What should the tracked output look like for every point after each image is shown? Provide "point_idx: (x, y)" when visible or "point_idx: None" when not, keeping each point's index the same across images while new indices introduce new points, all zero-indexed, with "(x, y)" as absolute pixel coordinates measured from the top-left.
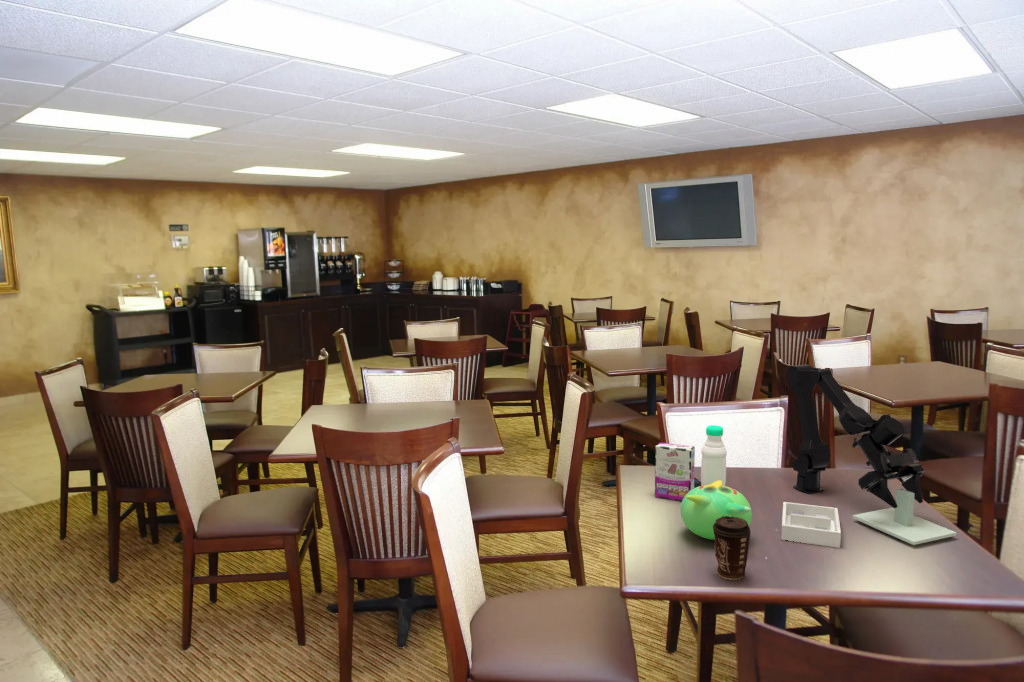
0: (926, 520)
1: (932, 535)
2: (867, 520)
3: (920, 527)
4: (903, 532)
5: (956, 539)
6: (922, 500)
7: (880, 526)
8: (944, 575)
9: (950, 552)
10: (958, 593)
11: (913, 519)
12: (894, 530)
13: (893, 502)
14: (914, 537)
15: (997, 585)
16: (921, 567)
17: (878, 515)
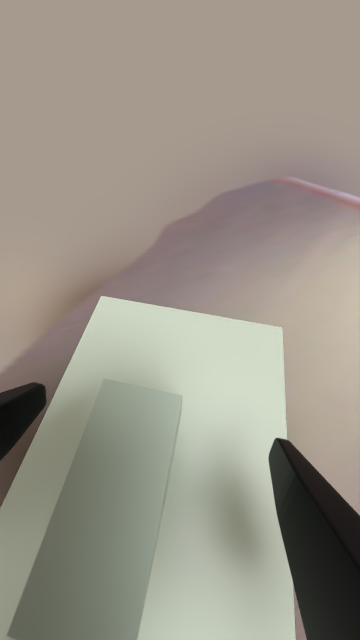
0: (51, 401)
1: (183, 321)
2: (279, 618)
3: (144, 377)
4: (245, 388)
5: None
6: (33, 383)
7: None
8: (323, 243)
9: (205, 280)
10: (356, 210)
11: (75, 443)
12: (259, 422)
13: (318, 473)
14: (248, 343)
15: (266, 196)
16: (343, 277)
17: (150, 628)
